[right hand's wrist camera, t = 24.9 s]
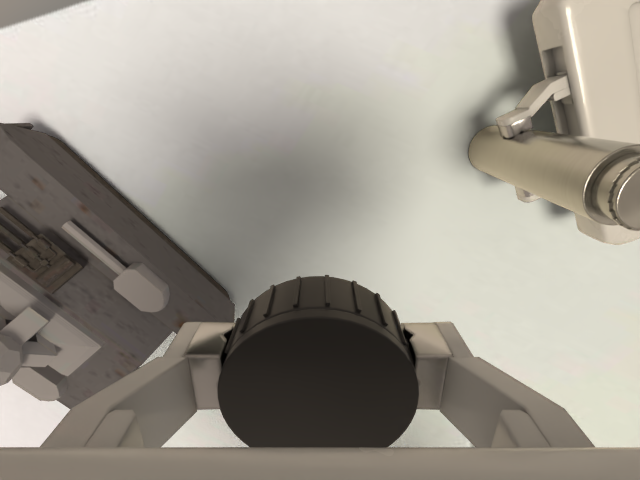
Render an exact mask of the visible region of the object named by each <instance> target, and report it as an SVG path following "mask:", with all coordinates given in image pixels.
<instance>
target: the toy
mask: <svg viewBox="0 0 640 480" xmlns="http://www.w3.org/2000/svg"><path fill="white" fill-rule="evenodd" d="M32 128H33V125H31V124H30V123H14V124H3V123H0V190H2V191H3V192H4V193H5V194H6V195H8V196H6V197H4V198H3V199H1V200H0V386H1V385H4V384H6V383H8V382H9V381H10V380H11V379H12V381H13V383H14V384H15V385H17V386H18V387H20V388H22V389H23V390H25V391H26V392H28V393H29V394H31V395H32V396H34V397H35V398H37V399H38V400H42V401H55V400H57V401H59V402H60V403H62V404H63V405H65V406H66V407H68V408H69V409H72V408H73V407H75V406H76V405H78V404H80V403H81V402H83V401H85V400H86V399H88V398H90V397H91V396H93V395H95V394H96V393H98V392H100V391H101V390H103V389H105V388H106V387H108V386H110V385H112V384H113V383H115V382H117V381H118V380H120V379H122V378H123V377H125V376H127V375H128V374H130V373H132V372H133V371H135V370H136V369H137V368H138V367H139V366H141V365H142V364H143V363H144V362H145V361H146V360H147V358H148V357H149V356H150V355H151V354H152V353H153V352H154V351H155V350H156V349H157V348H158V347H159V346H160V344H161V343H162V342H163V341H164V340H165V339H166V338H167V337H168V336H169V335H170V334H171V333H172V332H173V331H174V332H175V333H176V334H177V333H178V332H179V330H180V329H181V327H182V325H183V324H184V323H186V322H231V323H234V307H235V304H234V303H232V302H231V301H230V298H229V295H228V293H227V292H226V291H225V289H224V288H223V287H221V286H220V285H219V284H218V283H217V282H216V281H215V280H214V279H213V278H212V277H210V276H209V275H208V274H207V273H206V272H205V271H204V270H203V269H202V268H201V267H199V266H198V265H197V264H196V263H195V262H194V261H193V260H192V259H191V258H190V257H188V256H187V255H186V254H185V253H184V252H183V251H182V250H181V249H180V248H179V247H177V246H176V245H175V244H174V243H173V242H172V241H171V240H170V239H169V238H167V237H166V236H165V235H164V234H163V233H162V232H161V231H160V230H159V229H158V228H156V227H155V226H154V225H153V224H152V223H151V222H150V221H149V220H148V219H147V218H145V217H144V216H143V215H142V214H141V213H140V212H139V211H138V210H137V209H136V208H134V207H133V206H132V205H131V204H130V203H129V202H128V201H127V200H126V199H125V198H123V197H122V196H121V195H120V194H119V193H118V192H117V191H116V190H115V189H114V188H112V187H111V186H110V185H109V184H108V183H107V182H106V181H105V180H104V179H102V178H101V177H100V176H99V175H98V174H97V173H96V172H95V171H94V170H93V169H91V168H90V167H89V166H88V165H87V164H86V163H85V162H84V161H83V160H82V159H80V158H79V157H78V156H77V155H76V154H75V153H74V152H73V151H72V150H71V149H69V148H68V147H67V146H66V145H65V144H64V143H63V142H62V141H61V140H59V139H57V138H55V137H52V136H49V135H47V134H46V133H42V132H38V131H33V130H31V129H32Z"/></svg>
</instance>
